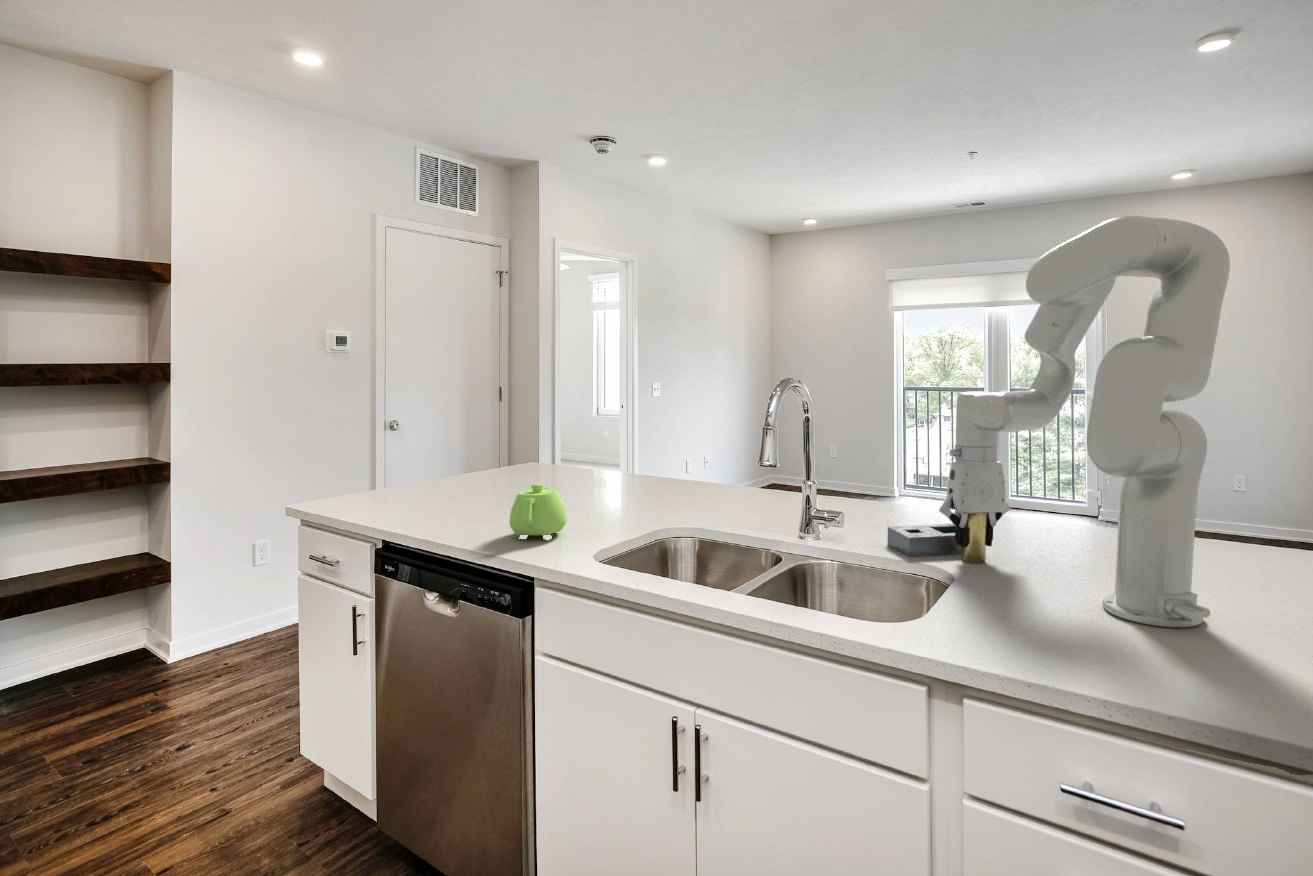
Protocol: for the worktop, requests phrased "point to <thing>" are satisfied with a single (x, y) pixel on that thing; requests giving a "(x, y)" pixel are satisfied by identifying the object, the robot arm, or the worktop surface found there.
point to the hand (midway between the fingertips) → (973, 544)
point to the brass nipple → (975, 539)
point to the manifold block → (924, 540)
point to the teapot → (538, 512)
